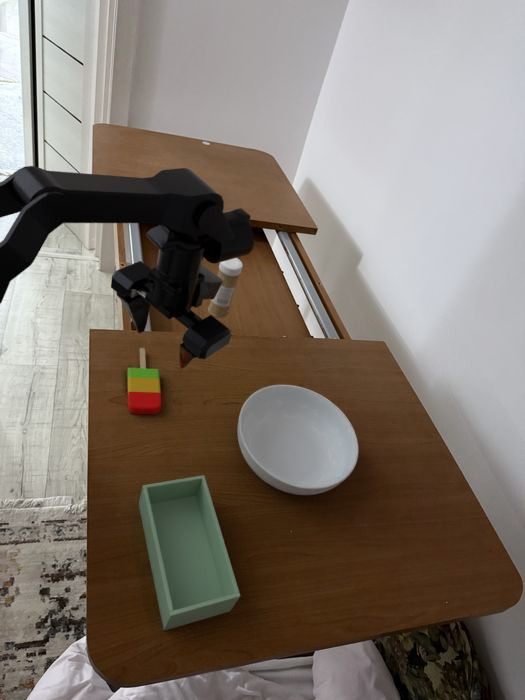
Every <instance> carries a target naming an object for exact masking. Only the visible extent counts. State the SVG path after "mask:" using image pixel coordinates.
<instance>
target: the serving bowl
mask: <svg viewBox="0 0 525 700" xmlns="http://www.w3.org/2000/svg"><path fill="white" fill-rule="evenodd" d="M237 422H238V423H237V441H238V445H239V449H240V452H241V454H242V456H243V458H244V460H245V462H246V464H247V465H248V466H249V468H250V469H251V470H252V472H253V473H254V474H256V476H258V478H260V479H261V480H262V481H263V482H265V483H266V484H268V485H269V486H271V487H273V488H275V489H277V490H280V491H282V492H284V493H288V494H291V495H292V494H293V495H297V496H313V495H319V494H323V493H325V492H329V491H330V490H332V489H334V488H336V487H337V486H339V485H340V484H342V482H344V481H345V480H346V479H347V478H348V477H350V475H351V474H352V472H353V471H354V469H355V467H356V465H357V463H358V459H359V441H358V437H357V435H356V431H355V429H354V426H353V425H352V423H351V421H350V420H349V419H348V417H347V416H346V414H345V413H344V412H343V411H342V410H341V409H340V408H339V407H338V406H337V405H336V404H335V403H333V402H332V401H331V400H329V399H328V398H326V397H325V396H324V395H321V394H320V393H317V392H316V391H313V390H312V389H308V388H305V387H302V386H299V385H292V384H274V385H268V386H266V387H262V388H259V389H258V390H256V391H254V392H253V393H252V394H251V395H249V396H248V397H247V399H246V401H245V402H244V403H243V405H242V406H241V409H240V412H239V415H238V420H237Z"/></svg>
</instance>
